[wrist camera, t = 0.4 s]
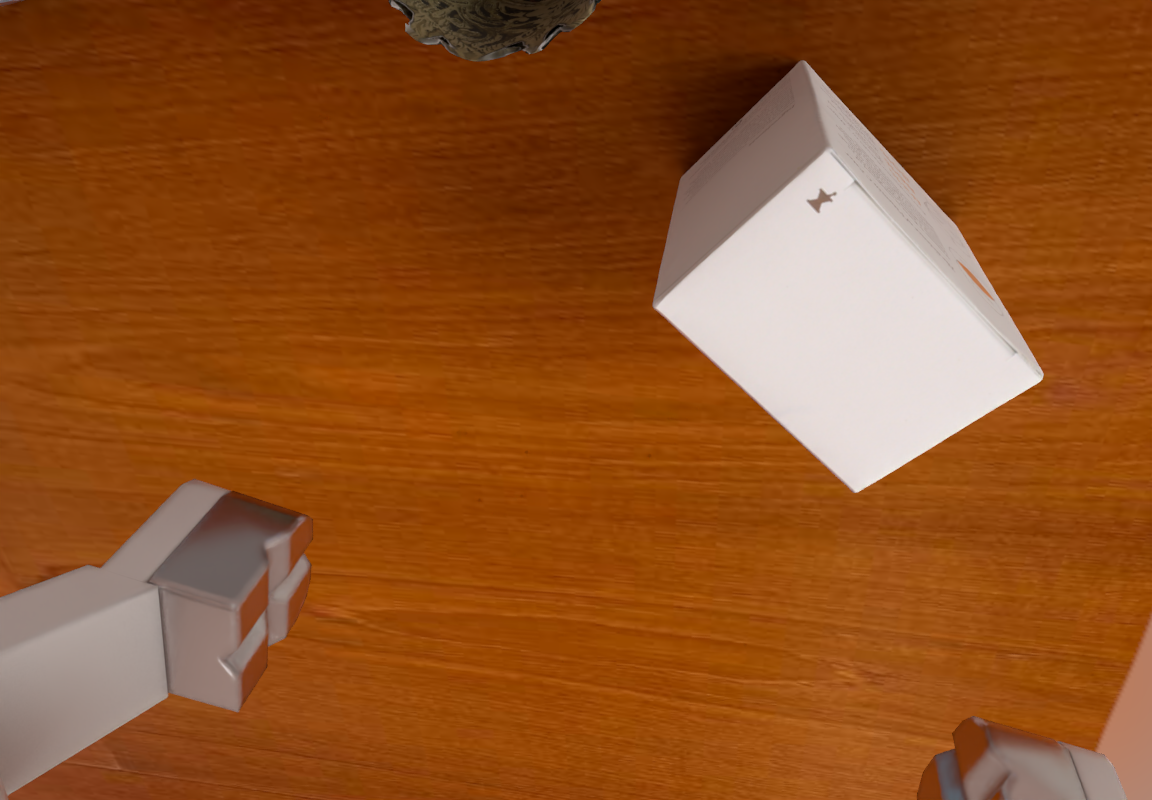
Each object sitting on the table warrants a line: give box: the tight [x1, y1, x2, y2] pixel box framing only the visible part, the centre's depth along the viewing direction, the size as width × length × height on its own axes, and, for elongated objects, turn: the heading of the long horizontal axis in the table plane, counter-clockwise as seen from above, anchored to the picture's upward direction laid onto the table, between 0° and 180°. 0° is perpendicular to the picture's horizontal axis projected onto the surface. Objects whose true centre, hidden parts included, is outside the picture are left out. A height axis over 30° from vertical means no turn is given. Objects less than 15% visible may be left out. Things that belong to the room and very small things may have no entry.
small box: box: [653, 60, 1044, 493], centre depth 24 cm, size 8×6×10 cm
